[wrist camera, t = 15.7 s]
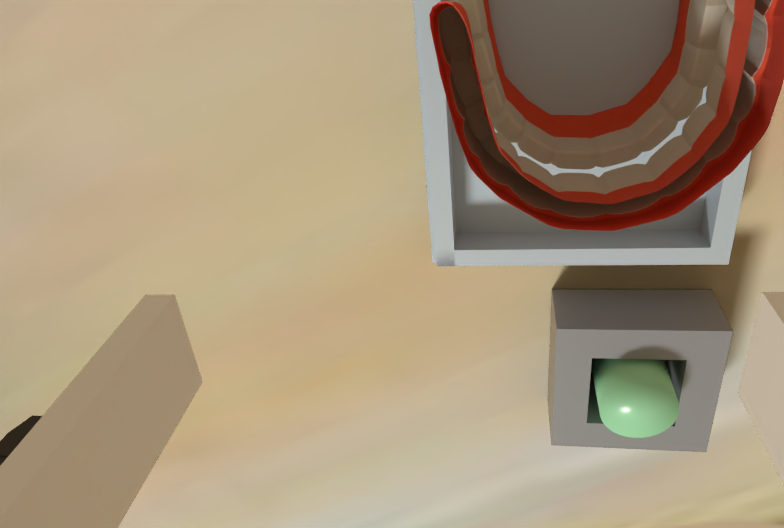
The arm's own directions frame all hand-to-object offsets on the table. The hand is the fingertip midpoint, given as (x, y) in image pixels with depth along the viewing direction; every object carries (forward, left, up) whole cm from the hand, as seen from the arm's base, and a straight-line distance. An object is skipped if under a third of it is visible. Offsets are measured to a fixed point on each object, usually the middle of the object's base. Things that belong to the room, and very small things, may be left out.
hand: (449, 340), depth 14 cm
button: (+9, -17, -20) cm, 28 cm away
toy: (+5, +1, -20) cm, 21 cm away
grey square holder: (+9, -17, -21) cm, 28 cm away
